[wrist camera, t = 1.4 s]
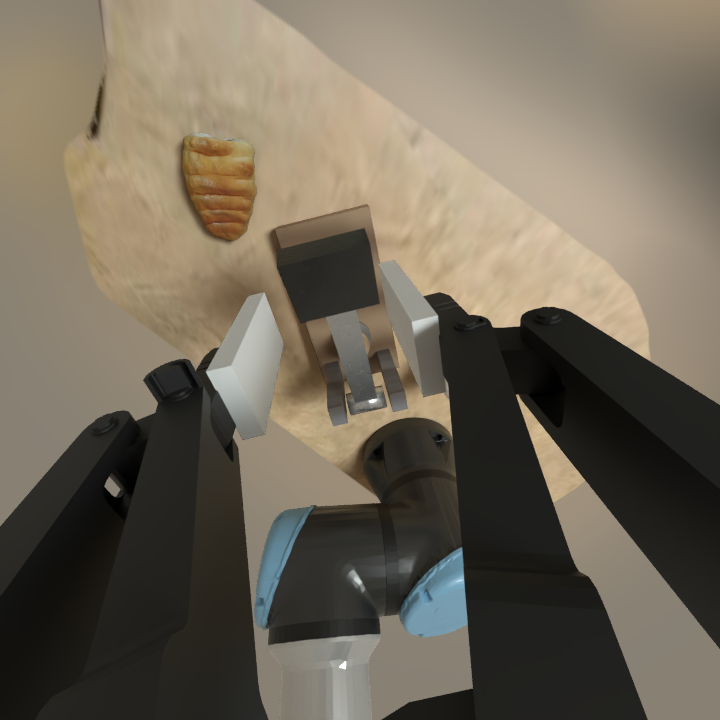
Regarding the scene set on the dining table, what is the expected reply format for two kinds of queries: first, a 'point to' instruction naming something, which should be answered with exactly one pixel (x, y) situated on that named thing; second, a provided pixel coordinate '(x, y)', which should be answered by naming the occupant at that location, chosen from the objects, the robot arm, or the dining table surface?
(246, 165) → the pastry
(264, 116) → the dining table surface
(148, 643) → the robot arm
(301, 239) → the nutcracker base
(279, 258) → the lever
